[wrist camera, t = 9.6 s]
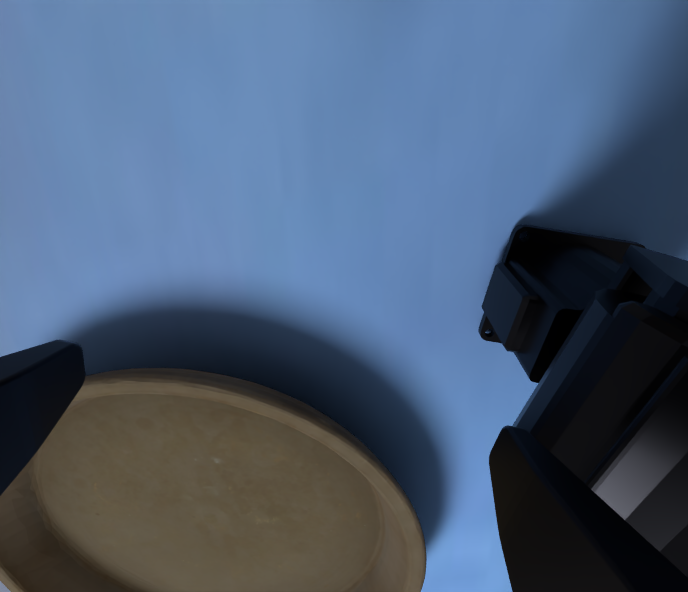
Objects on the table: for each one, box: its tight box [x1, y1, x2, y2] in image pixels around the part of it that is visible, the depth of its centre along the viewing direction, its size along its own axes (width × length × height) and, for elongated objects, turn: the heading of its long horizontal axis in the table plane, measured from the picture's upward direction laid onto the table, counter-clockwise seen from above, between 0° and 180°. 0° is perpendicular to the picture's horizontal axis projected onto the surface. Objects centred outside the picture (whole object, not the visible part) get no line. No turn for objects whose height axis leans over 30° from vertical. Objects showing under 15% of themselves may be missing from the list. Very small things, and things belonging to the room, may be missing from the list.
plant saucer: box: [0, 368, 426, 592], centre depth 28 cm, size 31×31×5 cm
